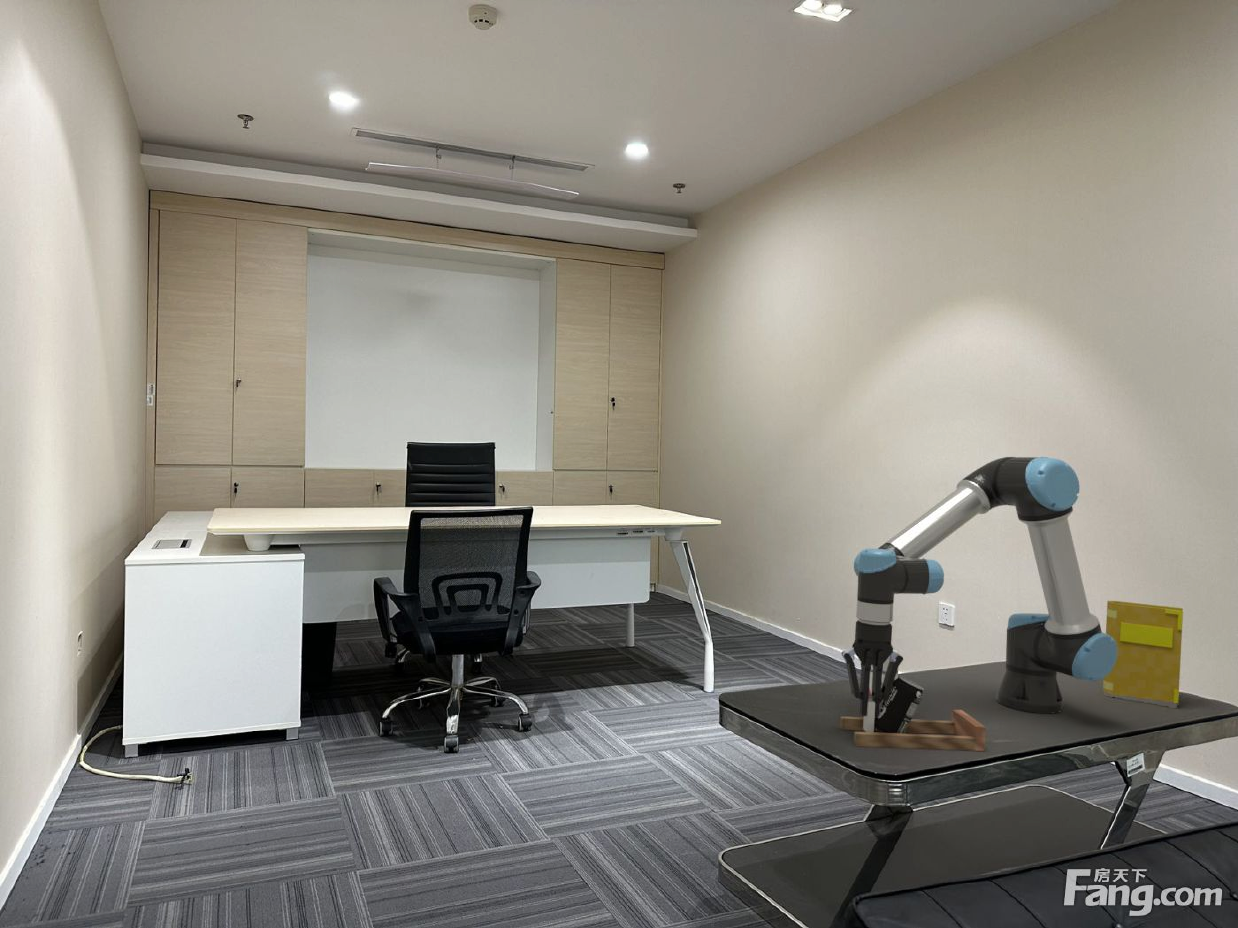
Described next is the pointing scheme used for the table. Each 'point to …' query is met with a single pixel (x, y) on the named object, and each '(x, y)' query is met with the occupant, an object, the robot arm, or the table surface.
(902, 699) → the beverage can
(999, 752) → the table surface
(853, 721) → the channel
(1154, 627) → the book
